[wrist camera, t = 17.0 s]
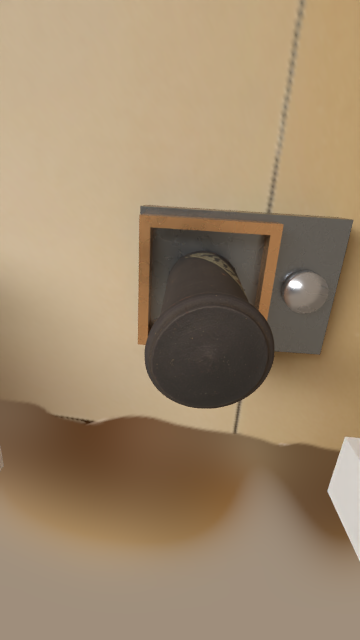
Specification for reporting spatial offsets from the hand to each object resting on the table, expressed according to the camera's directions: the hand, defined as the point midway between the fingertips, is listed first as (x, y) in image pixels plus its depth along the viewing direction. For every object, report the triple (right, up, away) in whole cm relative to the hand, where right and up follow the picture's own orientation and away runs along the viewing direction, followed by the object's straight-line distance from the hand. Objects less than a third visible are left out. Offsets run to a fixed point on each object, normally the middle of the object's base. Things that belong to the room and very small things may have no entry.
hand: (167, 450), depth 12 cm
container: (+3, +10, +27) cm, 29 cm away
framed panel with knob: (+8, +11, +31) cm, 33 cm away
